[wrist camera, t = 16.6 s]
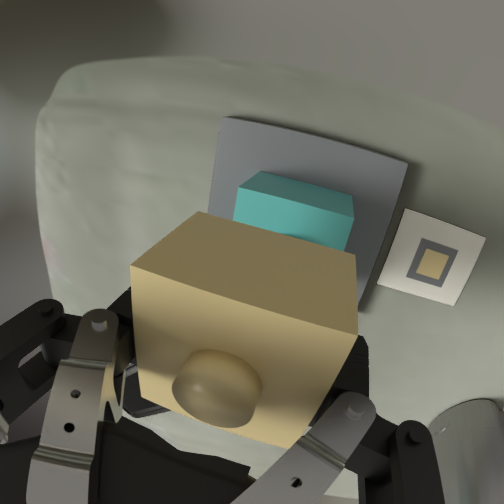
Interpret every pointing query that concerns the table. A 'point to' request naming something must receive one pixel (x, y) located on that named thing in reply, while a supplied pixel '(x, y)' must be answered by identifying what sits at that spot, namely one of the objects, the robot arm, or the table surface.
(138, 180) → the table surface
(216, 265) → the yellow knobbed block
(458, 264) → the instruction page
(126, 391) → the phone
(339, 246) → the teal brick
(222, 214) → the plate
